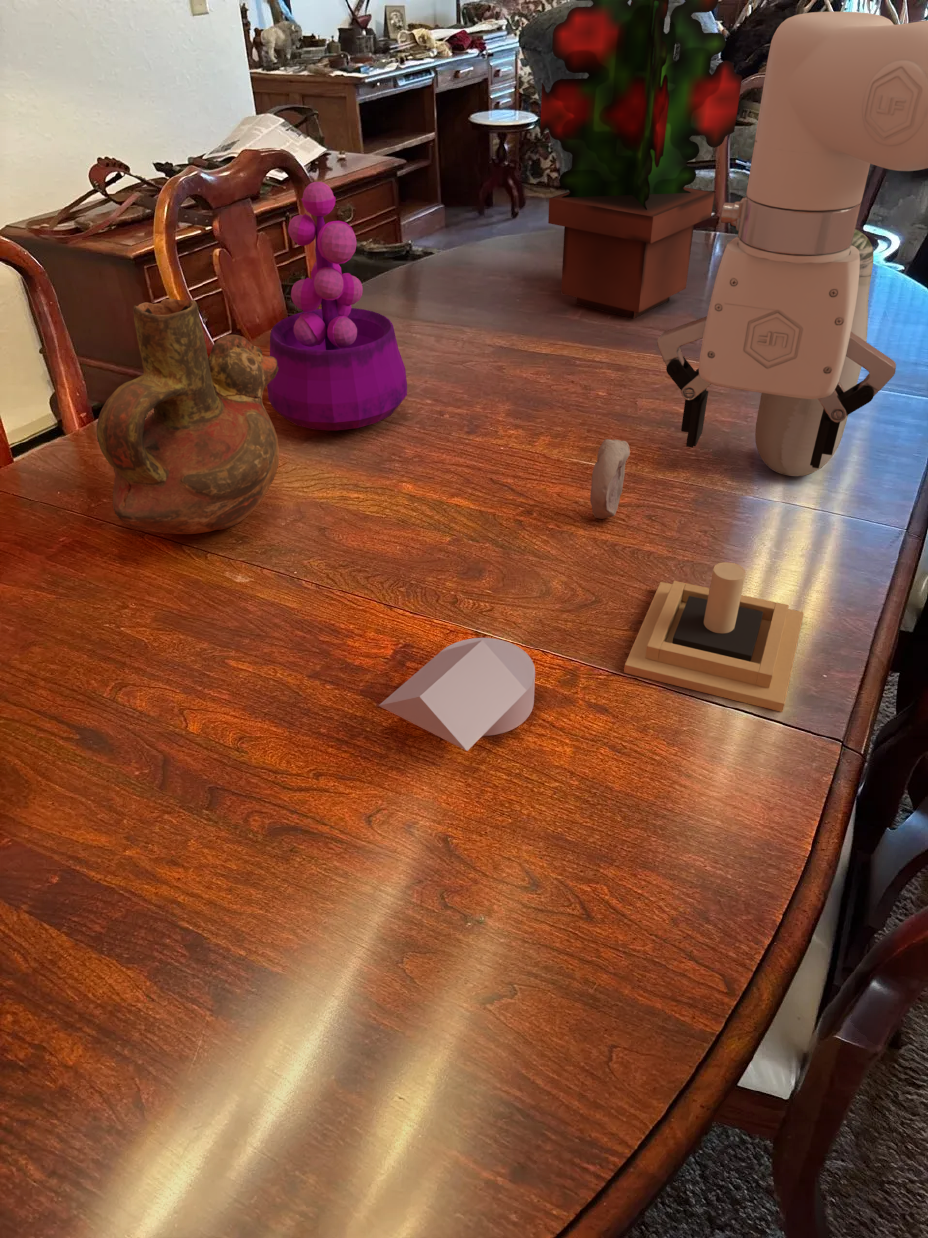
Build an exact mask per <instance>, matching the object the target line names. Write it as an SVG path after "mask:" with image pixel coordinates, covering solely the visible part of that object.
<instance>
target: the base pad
mask: <svg viewBox="0 0 928 1238" xmlns="http://www.w3.org/2000/svg"><path fill="white" fill-rule="evenodd" d="M709 590H710V587H706V586H701V585H697V584H692V583H688V582H687V583H685V582H682V581H677V580H673V582H672V583H669V582H665V581H660V582H659V583H658V586H657V589H656V591H655V593H654V596H653V597H652V600H651V603H650V605H649V607H648V608H647V609H648V610H647V612H646V613H645V617H644V619H643V620H642V623H641V626H640V628H639V630H638V633H637V635H636V638H635V640H634V642H633V644H632V647H631V649H630V650H629V653H628V656H627V658H626V660H625V663H624V667H623V673H624V674H627V675H630V676H631V675H632V676H635V677H640V678H644V679H648V680H652V681H655V682H660V683H664V684H668V685H672V686H676V687H681V688H684V689H687V690H692V691H696V692H699V693H704V694H708V695H712V696H717V697H720V698H724V699H729V700H733V701H737V702H740V703H744V704H748V705H752V706H757V707H760V708H765V709H769V710H773V711H777V712H780V713H782V712H783V711H784V709H785V705H786V701H787V694H788V690H789V686H790V681H791V677H792V671H793V667H794V663H795V658H796V652H797V647H798V642H799V637H800V633H801V628H802V623H803V618H804V614H805V613H804V611H800V610H795V609H791V608H789V607H790V604H787V603H781V602H777V601H776V602H775V601H773V600H767V599H762V598H757V597H753V596H748V595H744V594H741V599H740V604H739V607H744V608H748V609H753V610H758V611H762V612H763V616H762V621H761V625H760V629H759V632H758V636H757V640H756V644H755V647H754V651H753V655H752V659H751V662H749V661H745V660H741V659H736V658H732V657H728V656H723V655H719V654H715V653H711V652H706V651H702V650H698V649H694V648H689V647H685V646H681V645H677V644H672V642H673V637H674V634H675V631H676V629H677V626H678V624H679V621H680V618H681V616H682V613H683V610H684V608H685V605H686V603H687V600H688V597H689V596H693V597H698V598H702V599H707V600H708V595H709Z"/></svg>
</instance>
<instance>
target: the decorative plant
mask: <svg viewBox="0 0 928 1238" xmlns="http://www.w3.org/2000/svg"><path fill="white" fill-rule="evenodd" d="M336 198H337V197H336V196H334V192H333V190H332V188H331V187H330V186H329V185H328V184H326V183H325V182H323V181H313V182H311V183H309V184H308V185H307V186H306V187H305V188H304V190H303V193H302V198H301V202H302V205H303V208H304V209H305V211H306V212H307V213H308V214H307V213H304V214H298V215H294V216H293V217H292V218H291V220H289V223H288V227H287V233H288V235H289V238H290V239H291V240H292V241H293V242H294V243H295V244H297V246H299V247H300V246H301V247H305V246H308V245H311V243H313V242H314V241H315V243H314V244H315V246H314V247H315V248H314V253H315V262H314V263H313V266H312V268H311V272H310V277H311V278H310V277H306V278H304V279H303V278H301V279H299V280H297V281H295V282H294V284H293V285H292V287H291V290H290V298H291V300H292V303H293V304H294V306H295V307H296V308H297V309H299V310H301V311H302V312H301V311H300V312H298V313H295V314H292V315H289V316H287V317H284V318H283V319H281V320H280V321H278V322H276V324H274V325H273V326H272V328H271V330H270V333H269V334H270V335H269V356H272V357H274V358H276V360H277V367H278V368H279V369H278V372H277V374H276V376H275V378H274V379H272V380H271V381H270V383H269V384H268V385H267V386H266V388H267V397H268V398H267V400H268V402H269V403H270V405H271V406H272V408H273V410H275V411H276V412H277V413H278V414H279V415H280V416H281V417H283V418H284V419H285V420H287V421H289V422H291V423H293V424H294V425H296V426H298V427H302V428H306V429H312V430H314V431H315V430H317V431H344V430H353V429H360V428H363V427H367V426H370V425H374V424H378V423H379V422H380V421H383V420H384V419H387V418H388V417H391V416H392V414H393V413H394V412H395V411H396V410H397V408H399V406H400V405H401V404H402V402H403V401H404V400H405V398H406V397H407V396H408V380H407V373H406V372H407V371H406V367H405V363H404V361H403V357H402V355H401V352H400V350H399V346H398V341H397V337H396V331H395V327H394V324H393V322H392V321H391V320H390V318H388V317H386V315H383V314H382V313H380V312H376V311H373V310H369V309H365V308H364V309H363V308H356V307H352V306H353V305H355V304H357V303H358V302H359V301H360V300H361V298H362V297H363V293H364V292H363V291H364V289H363V284H362V282H361V280H360V279H359V278H357V276H355V275H352V274H351V273H350V272H345V273H343V272H342V267H341V266H340V265H342V264H345V263H347V262H348V261H350V260H351V259H352V258H353V256H354V254H355V253H356V249H357V245H358V244H357V243H358V242H357V237H356V233H355V231H354V229H353V227H352V226H351V225H349V224H348V223H347V222H346V221H341V220H333V221H328V222H327V223H326V222H325V219H324V217H325V216H328V215H329V214H330V213H331V212H332V211H333V210H334V207H335V205H336V202H337V201H336V200H337V199H336ZM309 214H310V215H312V216H314V217H316V222H315V221H314V219H313V218H312V217H311V216H310V215H309ZM319 307H321V308H319Z"/></svg>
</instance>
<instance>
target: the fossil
mask: <svg viewBox="0 0 928 1238" xmlns="http://www.w3.org/2000/svg"><path fill="white" fill-rule="evenodd" d="M630 455H631V451H630V445H629V442H627V441H626V440H620V439H610V438H609V439H608V438H606V439H603V441H602V443H601V444H600V446H599V447H598V451H597V456H596V461H595V463H594V465H593V469H592V473H591V485H590V486H591V488H590V495H589V498H590V505H591V510H592V511H591V512H592V514H593V517H595V518H596V519H599V520H604V519H607V518H610V517H614V516H616V513H617V511H618V507H619V505H620V500H621V496H622V493H623V488H624V481H625V476H626V475H625V474H626V463H627V461H628V458H629V457H630Z"/></svg>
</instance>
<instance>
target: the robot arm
mask: <svg viewBox="0 0 928 1238" xmlns="http://www.w3.org/2000/svg"><path fill="white" fill-rule="evenodd" d="M766 62H767V63H766V69H765V75H764V82H763V85H762V86H763V88H762V92H761V93H762V94H761V98H760V105H759V112H758V120H757V125H756V129H755V130H756V131H755V137H754V143H753V148H752V149H753V150H752V155H751V162H750V167H749V168H750V169H749V175H748V181H747V188H746V192H745V193H746V195H745V197H742V199H741V200H740V201H734V202H723V205H722V209H721V215H720V223H721V224H730V226H731V227H735V231H738V233H737V236H736V237H734V238H732V239H731V240H730V241H729V242H727V244H726V247H725V249H724V251H723V254H722V256H721V259H720V264H719V266H718V269H717V272H716V276H715V280H714V285H713V287H712V292H711V297H710V300H709V301H710V302H709V305H708V309H707V315H706V316H704V317H700V318H697V319H696V320H692V321H689V322H687V323H684V324H681V325H679V326H676V327H673V328H671V329H668V330H665V331H663V332H662V333H661V334H660V336H659V337H658V338H657V341H656V344H657V345H656V346H657V347H658V350H659V353H660V356H661V359H662V361H663V363H664V364H665V368H666V369H665V370H666V373H667V375H668V376H669V377H670V378H671V380H672V381H673V382H674V383H675V385H676V386H677V387H678V388H679V390H680V392H681V393H680V394H681V396H682V398H683V399H684V406H683V414H682V421H681V428H680V431H681V432H683V433H687V436H686V437H687V438H686V445H685V446H686V448H694V447H696V446H697V444H698V442H699V440H700V438H701V436H702V434H703V429H704V423H705V416H706V410H707V404H708V397H709V390H707V389H708V388H709V387H710V386H711V385H712V386H713V385H714V386H717V387H721V388H727V389H732V390H740V391H747V392H753V393H759V394H760V393H761V394H762V393H766V394H773V395H780V396H788V397H795V398H803V399H818V400H819V401H820V403H821V405H822V406H823V408H824V409H823V413H822V417H821V421H820V425H819V429H818V433H817V437H816V441H815V446H814V450H813V454H812V458H811V462H810V465H811V466H812V468H818V469H819V466H820V462H821V458H822V454H826V455H832V453H833V449H834V445H835V441H836V437H837V433H838V429H839V425H840V422H841V421H843V420H844V419H845V418H846V416H847V415H848V416H849V415H850V414H852V413H855V412H856V411H857V410H859V409H860V408H862V407H863V406H866V405H867V404H869V403H871V401H873V399H874V397H875V396H876V395H877V393H879V392H880V391H881V390H882V389H883V388H885V386H886V385H887V384H888V383H889V382H890V381H891V380H892V378H893V377H894V376H895V374H896V370H897V363H896V361H895V360H893V359H892V358H891V357H889V356H888V355H886V354H885V353H883V352H882V351H880V350H879V349H877V348H876V347H875V346H873V345H872V344H870V343H869V342H866V341H864V340H863V339H861V338H860V337H858V336H857V335H855V334H854V333H852V332H851V328H852V322H853V317H854V311H855V306H856V299H857V292H858V283H859V270H860V255H859V250H858V249H857V248H856V247H854V246H852V240H853V236H854V231H855V229H856V228H857V221H858V218H859V214H860V209H861V206H862V201H863V197H864V193H865V189H866V184H867V180H868V175H869V171H870V168H871V165H874V166H877V167H880V168H882V169H887V170H891V171H896V172H897V171H898V172H914V171H915V172H916V171H921V170H925V169H928V19H927V20H921V21H915V22H906V23H900V24H899V23H898V24H894V23H893V22H892V20H891V19H889V18H888V17H886V16H883V15H879V14H875V13H869V12H860V11H859V12H858V11H814V12H806V13H798V14H795V15H793V16H790V17H787V18H786V19H785V20H784V21H782V22H781V23H780V24H779V26H778V27H777V28H776V30H775V32H774V34H773V36H772V38H771V41H770V47H769V50H768V55H767V61H766ZM699 340H702V341H701V347H700V353H699V359H698V368H697V369H694V368H693V366H692V365H691V364H690V363H689V362H688V360H687V358H686V357H685V356H683V353H682V349H681V347H683V346H685V345H688V344H691V343H693V342H697V341H699ZM846 356H847V357H848V358H850V359H851V360H853V361H854V362H856V363H857V364H859V365H860V366H861V368H863V369H864V370H866V371H867V372H868V374H867V375H866V376H865V377H864V379H863V380H862V381H859V382H857V385H855V386H853V387H852V388H850V389H848V390H847V391H845V390H844V388H843V387H842V385H841V383H840V382H839V379H840V376H841V373H842V369H843V365H844V361H845V357H846ZM819 470H820V469H819Z"/></svg>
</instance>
